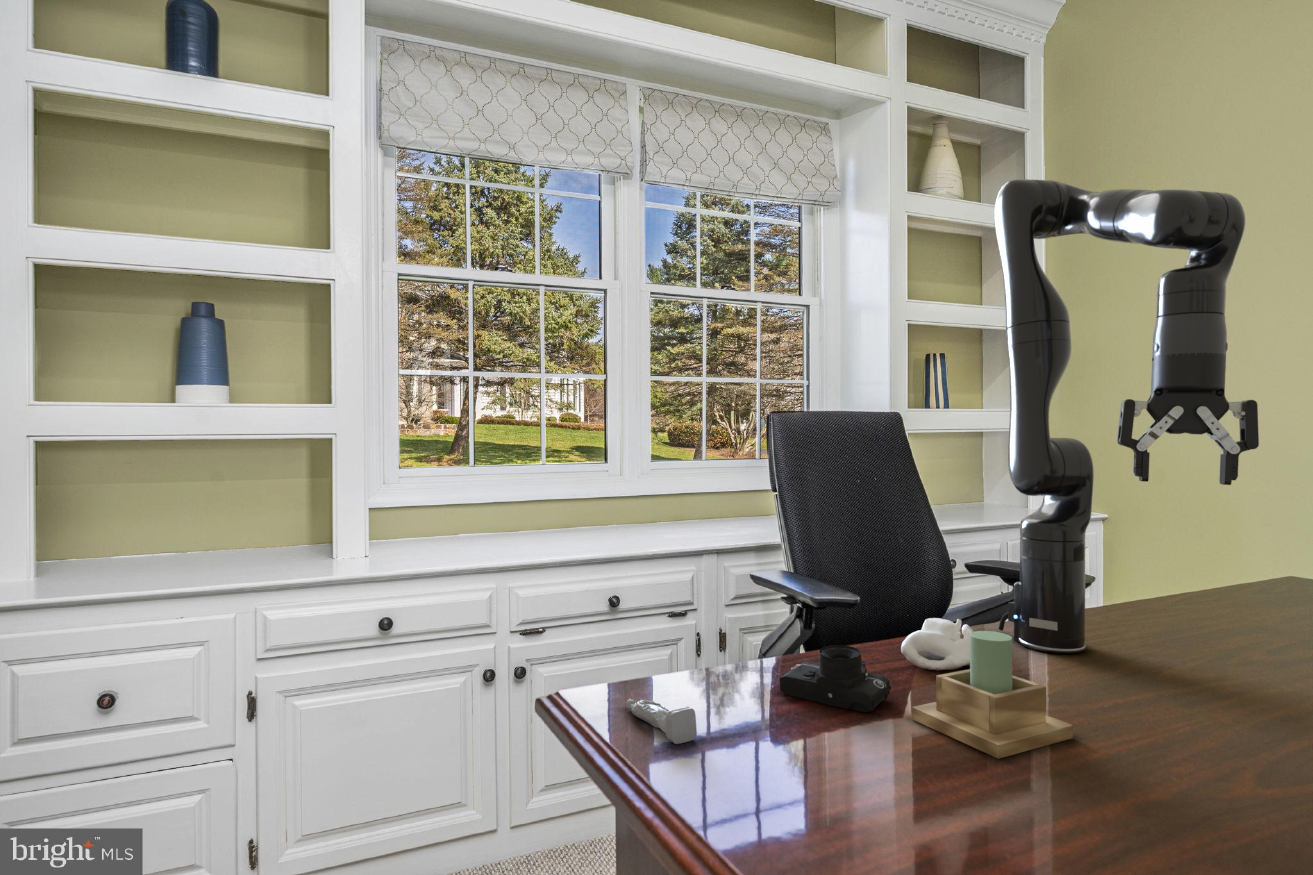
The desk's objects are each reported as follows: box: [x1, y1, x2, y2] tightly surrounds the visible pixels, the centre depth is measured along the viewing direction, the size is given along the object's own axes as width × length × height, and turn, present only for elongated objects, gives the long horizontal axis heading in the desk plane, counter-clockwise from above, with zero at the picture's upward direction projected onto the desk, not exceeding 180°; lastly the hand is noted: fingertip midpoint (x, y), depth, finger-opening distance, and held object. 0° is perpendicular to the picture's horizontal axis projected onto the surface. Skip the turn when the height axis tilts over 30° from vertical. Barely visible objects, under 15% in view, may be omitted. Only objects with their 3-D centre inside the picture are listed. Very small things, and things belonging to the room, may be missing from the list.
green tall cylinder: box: [969, 630, 1013, 695], centre depth 85 cm, size 4×4×9 cm
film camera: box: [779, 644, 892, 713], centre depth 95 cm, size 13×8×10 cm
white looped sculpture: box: [900, 617, 974, 672], centre depth 109 cm, size 9×12×8 cm
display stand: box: [911, 668, 1074, 760], centre depth 85 cm, size 12×12×6 cm
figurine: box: [626, 698, 698, 745], centre depth 86 cm, size 4×12×4 cm, turn 32°
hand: (1183, 482), depth 93 cm, fingers open, 8 cm apart
